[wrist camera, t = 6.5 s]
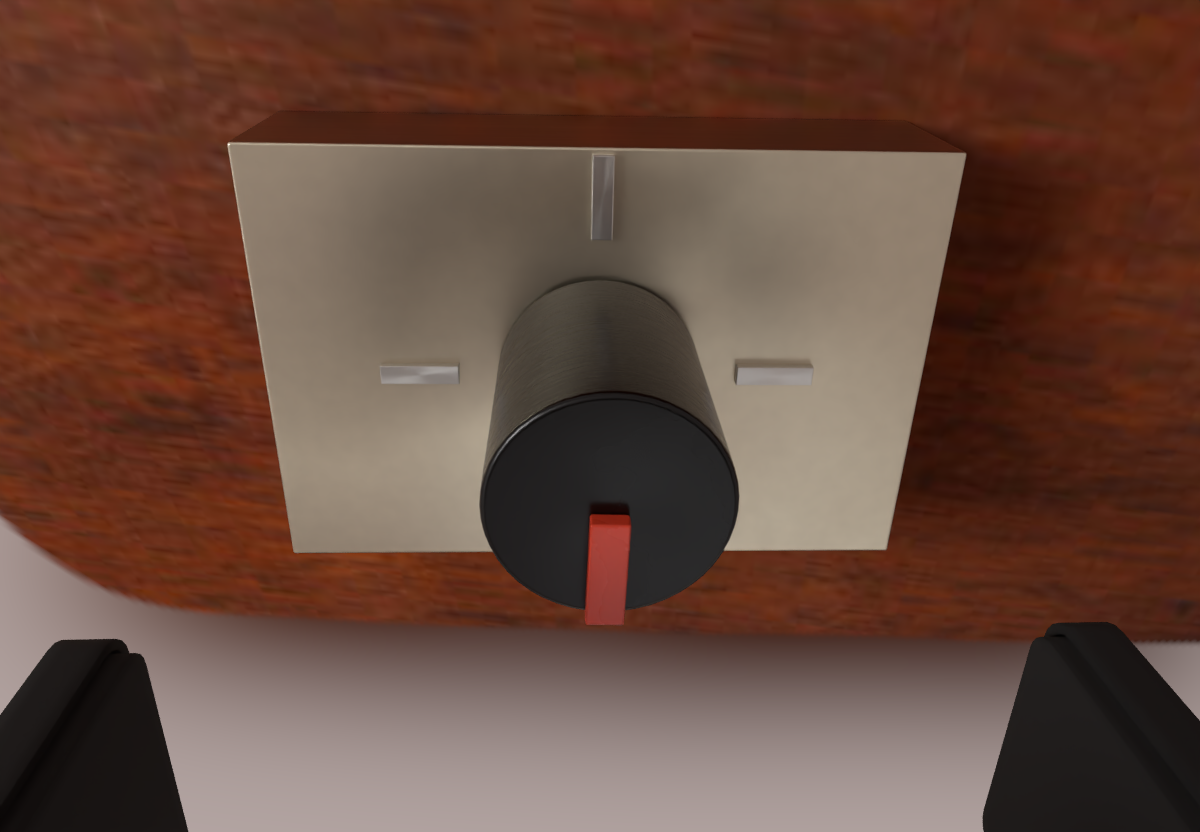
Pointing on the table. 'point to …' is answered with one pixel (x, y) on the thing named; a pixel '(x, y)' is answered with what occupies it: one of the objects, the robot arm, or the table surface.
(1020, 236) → the table surface
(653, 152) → the panel
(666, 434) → the hob knob
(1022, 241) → the table surface
